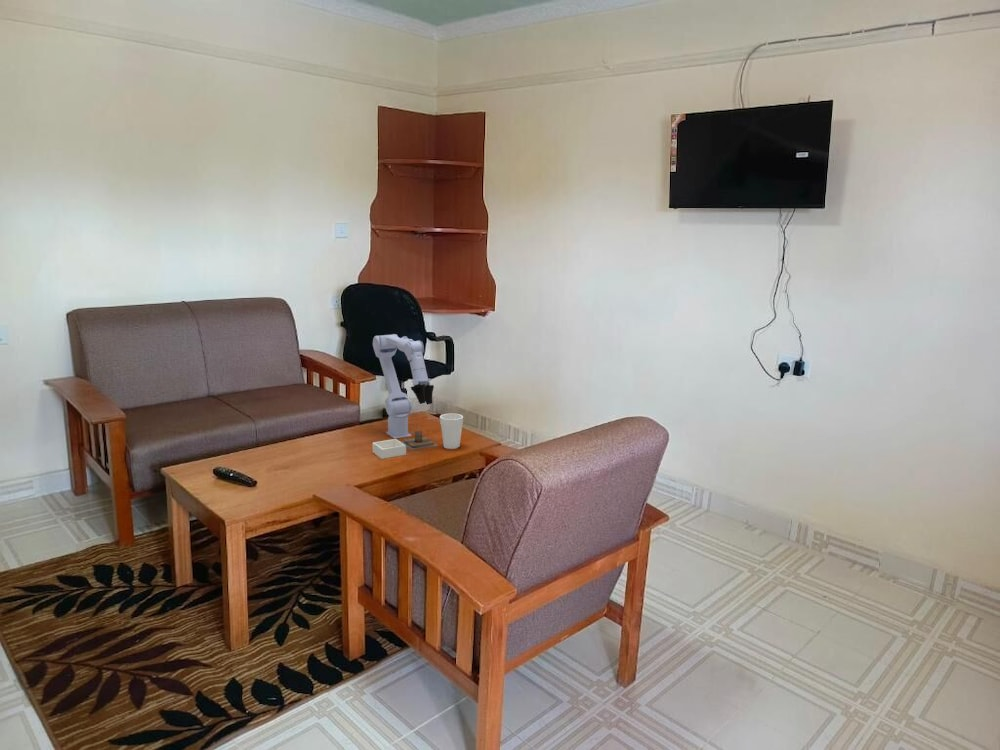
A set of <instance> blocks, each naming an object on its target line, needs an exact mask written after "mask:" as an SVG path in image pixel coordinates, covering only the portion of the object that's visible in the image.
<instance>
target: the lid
mask: <svg viewBox="0 0 1000 750" xmlns="http://www.w3.org/2000/svg"><path fill="white" fill-rule="evenodd" d="M403 442H404V443H405V444H407V445H408V446H410V447H411V448H419V447H425V446H430V445H434V443H435V441H432V439H429V438H428V437H426V436H423V431H422V430H416V431H414V437H412V438H406V439H403Z"/></svg>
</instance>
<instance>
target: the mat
mask: <svg viewBox="0 0 1000 750" xmlns="http://www.w3.org/2000/svg"><path fill="white" fill-rule="evenodd" d="M399 441H400V440H399ZM400 442H401V443H403V444H404V445H406V448H408V449H409V450H410V451H413V450H418V449H419V450H420V449H425V448H430V447H436V446H438V444H437V443H436V442H434V445H430V446H425V447H419V448H411V447H410V446H408V445H407V444H405V443H404V442H403V441H400Z"/></svg>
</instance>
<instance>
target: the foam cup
mask: <svg viewBox="0 0 1000 750" xmlns="http://www.w3.org/2000/svg"><path fill="white" fill-rule="evenodd" d="M439 423H440V427H441V428H440V429H441V436H442V437H441V438H442V442H443V443H442V444H443V448H445V449H447V450H455V449H458V447H459V448H460V444H461V438H462V433H463V432H462V430H463V423H464V415H462V414H459V413H444V414H440V415H439Z"/></svg>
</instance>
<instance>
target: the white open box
mask: <svg viewBox="0 0 1000 750" xmlns="http://www.w3.org/2000/svg"><path fill="white" fill-rule="evenodd" d="M372 453H373V454H374V453H375V456H377V457H378V456H379V457H378V458H379V459H381V460H384V459H389V458H393V457H394V458H395V457H399V456H406V455H407V447H406V445H404V444H403V443H401V442H400V440H398V438H393V439H387V440H380V441H374V442H372Z"/></svg>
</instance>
